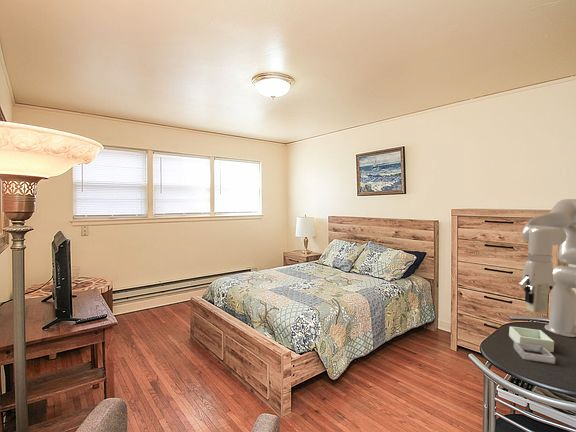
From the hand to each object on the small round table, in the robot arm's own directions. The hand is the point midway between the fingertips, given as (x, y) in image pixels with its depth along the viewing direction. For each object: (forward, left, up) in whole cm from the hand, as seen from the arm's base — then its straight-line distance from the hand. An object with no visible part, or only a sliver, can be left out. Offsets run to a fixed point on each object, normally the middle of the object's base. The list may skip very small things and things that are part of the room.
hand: (536, 301), depth 129 cm
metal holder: (+1, +3, -21) cm, 21 cm away
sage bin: (-2, -9, -21) cm, 23 cm away
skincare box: (0, 0, -4) cm, 4 cm away
